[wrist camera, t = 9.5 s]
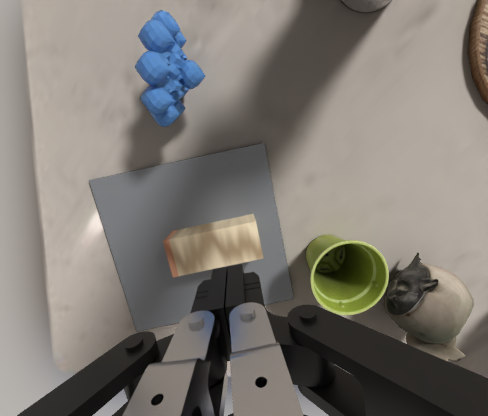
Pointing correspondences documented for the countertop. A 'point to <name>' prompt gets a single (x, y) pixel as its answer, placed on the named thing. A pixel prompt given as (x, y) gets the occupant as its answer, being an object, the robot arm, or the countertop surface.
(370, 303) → the plant pot
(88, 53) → the countertop surface
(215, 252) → the maple block
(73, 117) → the countertop surface
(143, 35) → the grapes
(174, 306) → the rubber mat
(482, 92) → the trivet
